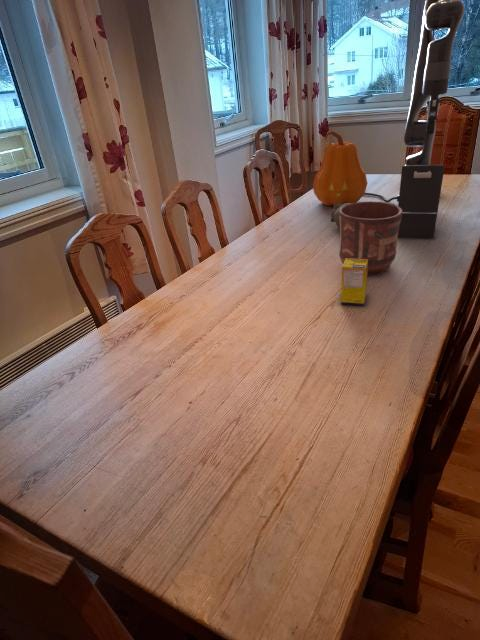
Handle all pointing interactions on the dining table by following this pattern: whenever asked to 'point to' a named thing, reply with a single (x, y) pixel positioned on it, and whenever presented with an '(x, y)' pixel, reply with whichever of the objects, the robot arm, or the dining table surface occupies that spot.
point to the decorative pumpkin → (340, 174)
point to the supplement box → (354, 281)
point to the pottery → (370, 233)
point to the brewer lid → (420, 188)
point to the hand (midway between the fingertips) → (429, 132)
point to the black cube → (417, 225)
